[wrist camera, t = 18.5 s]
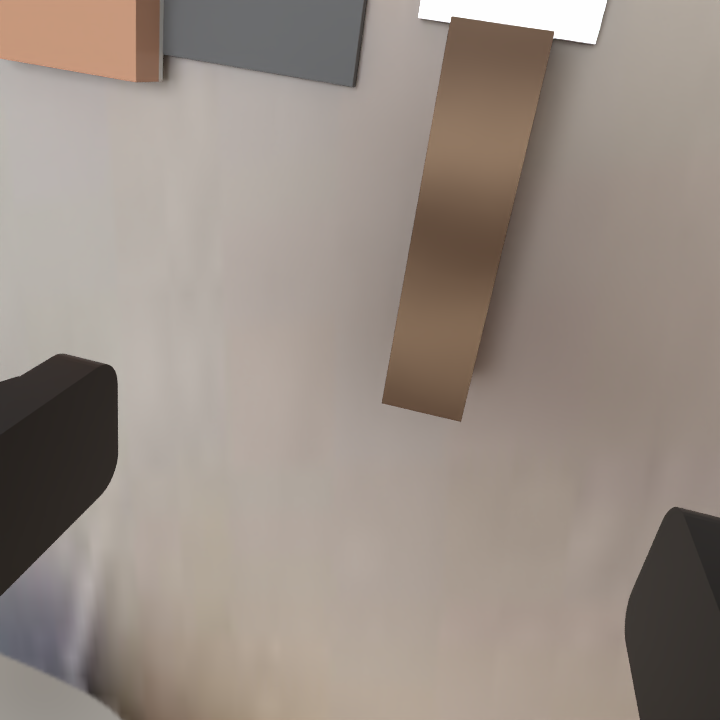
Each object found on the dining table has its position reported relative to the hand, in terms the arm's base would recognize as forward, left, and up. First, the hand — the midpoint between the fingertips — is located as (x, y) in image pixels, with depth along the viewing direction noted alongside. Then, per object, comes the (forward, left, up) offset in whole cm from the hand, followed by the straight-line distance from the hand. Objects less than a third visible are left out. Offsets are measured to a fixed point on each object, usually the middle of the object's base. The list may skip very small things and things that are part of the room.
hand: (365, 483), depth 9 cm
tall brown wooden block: (0, -4, -18) cm, 19 cm away
